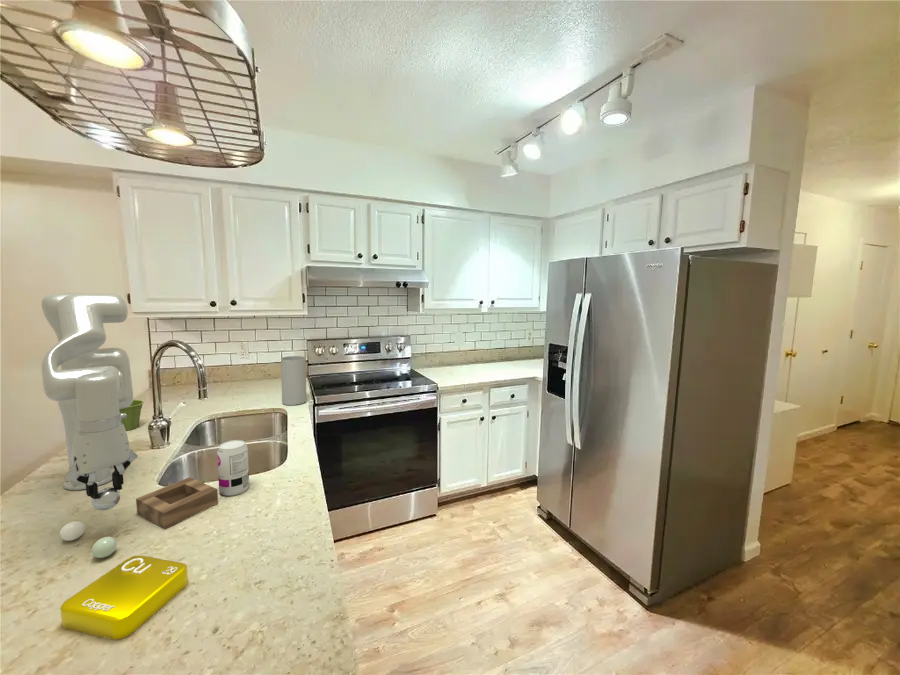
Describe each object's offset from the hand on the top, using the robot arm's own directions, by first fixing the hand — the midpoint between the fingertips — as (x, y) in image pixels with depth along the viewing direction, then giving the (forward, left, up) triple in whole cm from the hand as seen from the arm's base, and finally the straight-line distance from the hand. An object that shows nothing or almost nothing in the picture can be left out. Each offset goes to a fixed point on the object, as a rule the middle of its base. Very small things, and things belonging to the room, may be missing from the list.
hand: (105, 492), depth 95 cm
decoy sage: (+9, -4, -9) cm, 13 cm away
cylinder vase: (-51, +102, -12) cm, 115 cm away
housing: (+3, +15, -11) cm, 19 cm away
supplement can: (+7, +29, -12) cm, 32 cm away
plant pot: (-80, +38, -12) cm, 89 cm away
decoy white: (-5, -5, -9) cm, 12 cm away
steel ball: (0, 0, -2) cm, 2 cm away
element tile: (+29, -8, -12) cm, 32 cm away
